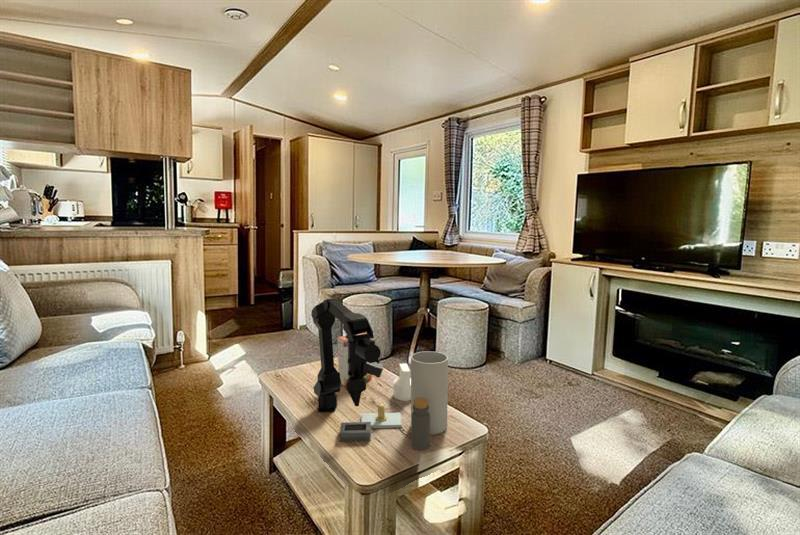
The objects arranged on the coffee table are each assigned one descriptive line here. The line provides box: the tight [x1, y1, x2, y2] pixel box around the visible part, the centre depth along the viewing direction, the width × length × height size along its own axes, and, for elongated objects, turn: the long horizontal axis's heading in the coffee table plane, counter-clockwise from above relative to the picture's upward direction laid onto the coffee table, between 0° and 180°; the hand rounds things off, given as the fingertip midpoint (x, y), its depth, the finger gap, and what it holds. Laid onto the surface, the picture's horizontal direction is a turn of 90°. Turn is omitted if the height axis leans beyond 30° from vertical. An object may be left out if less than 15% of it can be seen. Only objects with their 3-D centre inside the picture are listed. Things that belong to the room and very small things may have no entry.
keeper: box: [360, 403, 402, 429], centre depth 151 cm, size 14×9×6 cm, turn 92°
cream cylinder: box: [393, 362, 411, 402], centre depth 173 cm, size 9×9×12 cm
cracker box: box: [336, 332, 373, 388], centre depth 187 cm, size 14×6×21 cm, turn 127°
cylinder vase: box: [410, 350, 449, 436], centre depth 146 cm, size 12×12×25 cm
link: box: [338, 421, 372, 443], centre depth 142 cm, size 10×7×3 cm
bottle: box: [410, 398, 431, 451], centre depth 135 cm, size 6×6×15 cm
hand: (357, 400), depth 141 cm, fingers open, 9 cm apart
